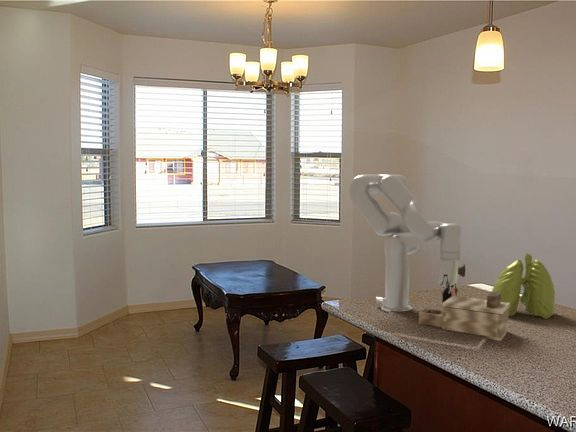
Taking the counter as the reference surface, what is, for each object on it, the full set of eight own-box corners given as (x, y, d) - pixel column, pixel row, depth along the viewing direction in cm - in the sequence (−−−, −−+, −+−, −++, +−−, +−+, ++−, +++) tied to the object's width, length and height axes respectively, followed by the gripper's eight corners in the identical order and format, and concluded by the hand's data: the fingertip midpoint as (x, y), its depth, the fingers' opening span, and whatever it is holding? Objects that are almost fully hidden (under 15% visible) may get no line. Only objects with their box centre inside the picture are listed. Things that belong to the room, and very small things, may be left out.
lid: (442, 306, 205) (442, 291, 205) (452, 298, 217) (453, 285, 216) (502, 314, 195) (502, 299, 194) (509, 306, 206) (510, 292, 206)
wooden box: (416, 327, 211) (417, 303, 210) (427, 319, 222) (428, 296, 222) (500, 340, 196) (501, 315, 195) (507, 331, 207) (508, 307, 206)
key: (447, 315, 221) (440, 290, 221) (450, 313, 224) (443, 288, 225) (457, 314, 219) (450, 288, 219) (460, 311, 222) (453, 286, 223)
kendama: (464, 302, 250) (466, 257, 248) (442, 301, 251) (443, 256, 250) (462, 299, 256) (464, 255, 254) (440, 298, 257) (441, 254, 255)
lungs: (548, 310, 239) (551, 252, 237) (558, 319, 224) (562, 258, 222) (485, 306, 244) (488, 250, 242) (491, 316, 229) (494, 256, 227)
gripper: (446, 251, 230) (445, 297, 231) (433, 257, 215) (432, 305, 217) (465, 253, 226) (463, 299, 227) (453, 259, 212) (452, 308, 213)
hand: (448, 301), depth 222 cm, fingers closed on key, 4 cm apart
